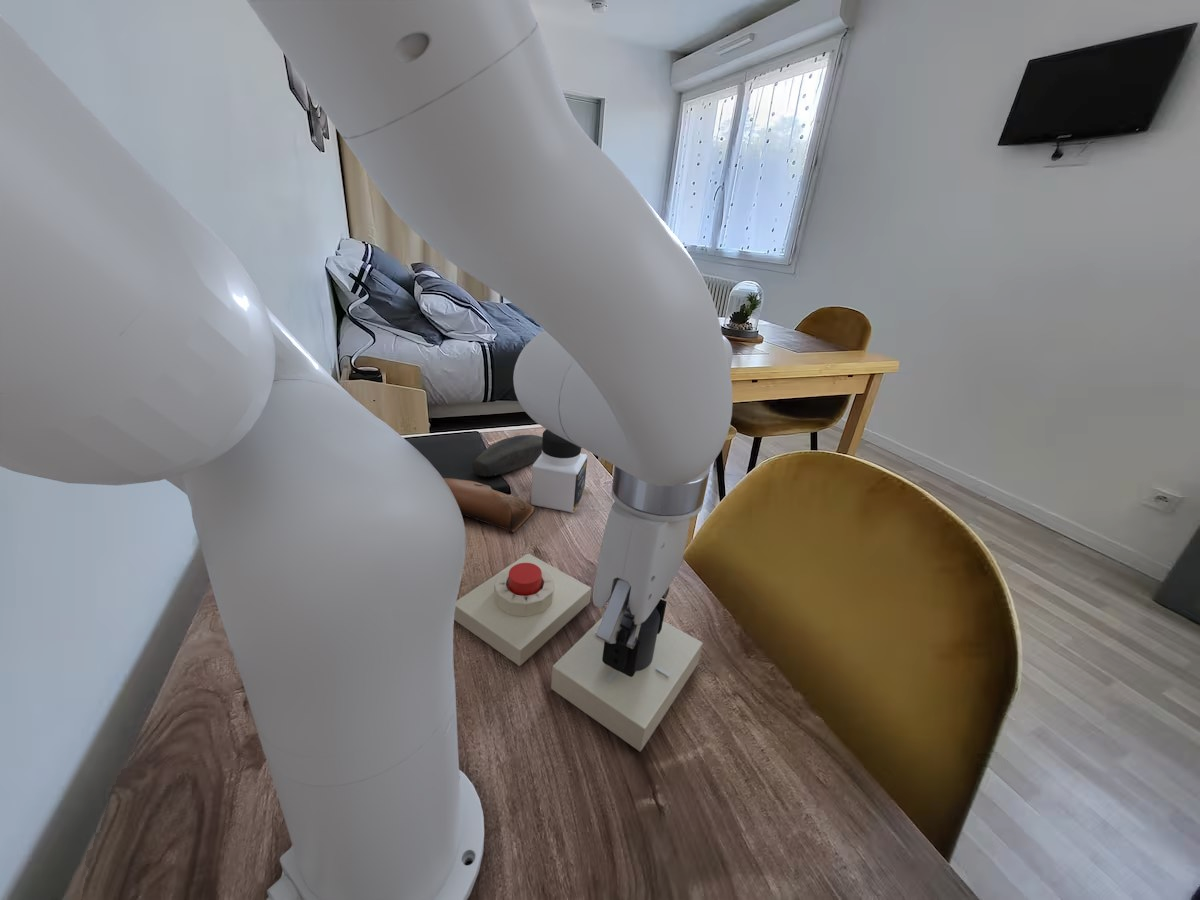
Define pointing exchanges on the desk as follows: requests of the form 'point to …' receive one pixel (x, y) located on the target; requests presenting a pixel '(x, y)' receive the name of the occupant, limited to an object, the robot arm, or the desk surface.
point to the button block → (521, 610)
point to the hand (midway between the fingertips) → (632, 645)
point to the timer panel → (626, 683)
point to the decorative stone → (508, 455)
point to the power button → (525, 579)
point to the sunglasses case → (489, 504)
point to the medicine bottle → (558, 474)
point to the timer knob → (645, 637)
